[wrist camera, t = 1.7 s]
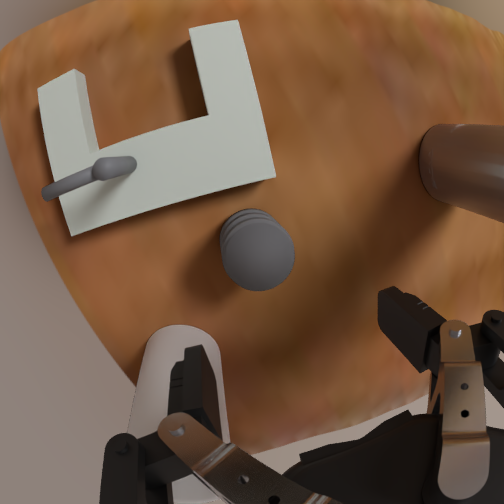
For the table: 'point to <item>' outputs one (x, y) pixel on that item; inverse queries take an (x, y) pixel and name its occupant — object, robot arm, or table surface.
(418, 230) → the table surface
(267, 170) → the board
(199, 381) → the robot arm
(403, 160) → the table surface
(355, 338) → the table surface
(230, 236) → the grooved grey cylinder
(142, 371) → the cup
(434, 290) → the table surface
